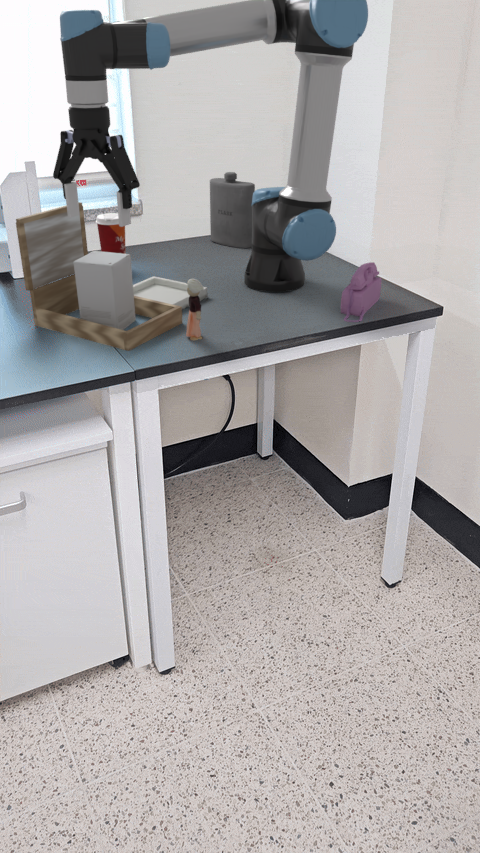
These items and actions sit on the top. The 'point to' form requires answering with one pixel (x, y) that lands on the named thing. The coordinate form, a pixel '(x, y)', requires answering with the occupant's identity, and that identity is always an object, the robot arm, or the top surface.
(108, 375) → the top surface
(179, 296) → the tray
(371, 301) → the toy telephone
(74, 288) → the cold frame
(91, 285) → the supplement box
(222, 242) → the flask
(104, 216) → the paper cup
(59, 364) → the top surface
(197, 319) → the grandmother figurine
